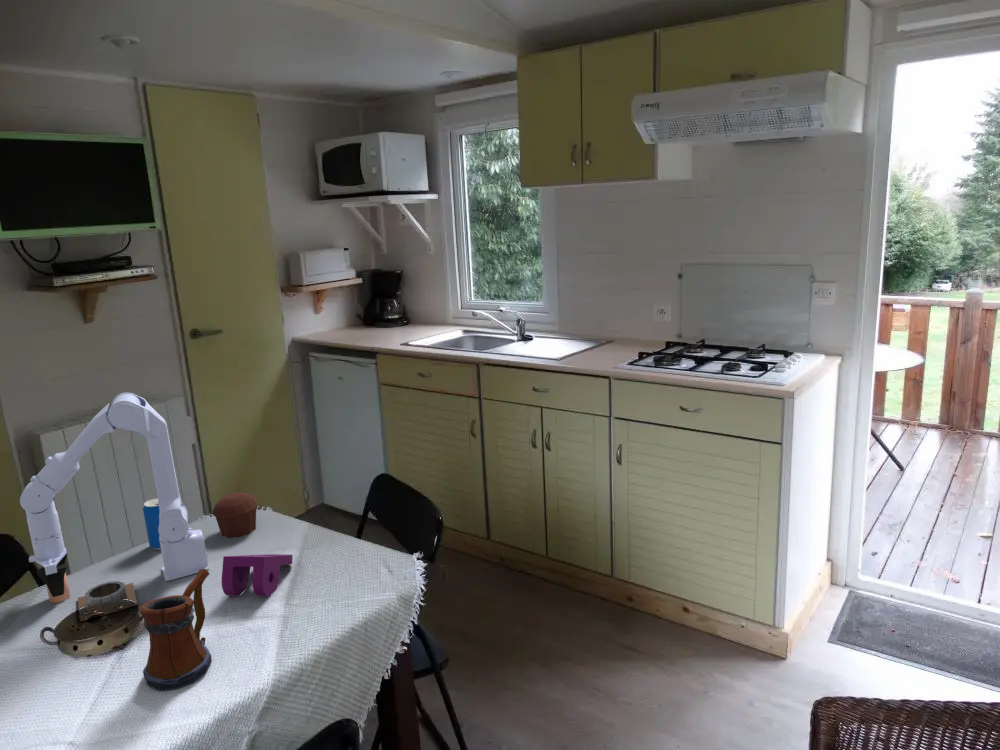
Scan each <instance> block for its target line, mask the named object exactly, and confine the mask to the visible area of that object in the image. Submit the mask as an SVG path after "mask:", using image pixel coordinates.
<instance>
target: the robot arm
mask: <svg viewBox="0 0 1000 750" xmlns="http://www.w3.org/2000/svg"><path fill="white" fill-rule="evenodd" d="M117 428H118V429H119V430H120V429H121V430H125V431H133V432H136V433H138V434H140V435H142V436H144V437H145V438H146V442H147V447H148V453H149V458H150V463H151V464H150V465H151V470H152V473H153V481H154V486H155V491H156V496H157V498H158V502H159V510H160V513H159V520H160V521H159V527H158V532H159V535H160V536H159V541H160V546H161V550H160V553H161V557H162V563H163V566H161V571H162V574H163V577H164V580H165V582H170V581H174V580H177V579H181V578H184V577H188V576H190V575H194V574H197V573H198V571H199V570H201V569H206V570H207V571H209V569H210V567H209V562H208V553H207V550H206V545H205V539H204V535H203V532H202V529H194V530H193V528H192V527H190V525H189V521H188V518H189V517H188V516H189V512H188V509H187V508H186V506H185V505H184V504H183V502H182V498H181V494H180V490H179V485H178V480H177V474H176V469H175V464H174V457H173V452H172V447H171V442H170V435H169V430H168V425H167V422H166V420H165V418H164V417H163V416H161V415H160V413H158V412H157V410H155V409H154V408H153V407H152V406H151V405H150V404H149V403H148V402H147V400H146V399H145V398H144V397H141V396H140V395H137V394H136V393H132V392H122V393H121V392H120V393H119V394H117V395H116V396H114V397H113V399H112V400H111V404H110V403H107V404H106V405H105V406H104V407H103V408H101V410H99V412H98V413H96V415H94V417H93V418H92V419H91V420H90V422H89V423H87V425H86V426H85V428H84V429H83V430H82V431H81V433H80V434H79V435H78V436H77V437H76V439H74V441H73V442H72V444H71V445H70V446H69V447H68V449H66V451H63V452H57V453H54V455H53V456H47V458H46V460H45V462H44V463H45V465H44V467H42V468H41V470H40V471H39V472H38V473H37V474H36V475H33V476H32V477H31V478H30V479H29V481H30V482H29V483H28V484H27V485H26V486H25V487H24V490H23V491H22V493H21V495H20V497H19V498H20V499H19V505H20V506H21V508H22V509H23V510H24V511H25V515H26V523H27V526H28V531H29V536H30V540H31V545H32V550H33V553H34V555H30V556H29V557H28V562H29V563H34V562H36V563H37V564H38V565H39V566H40V567H41V568H37V569H36V574H37V576H38V577H39V578H40V579H41V580H43V582H44V583H45V586H46V585H47V587H48V589H49V591H50V593H51V595H52V596H53V597H56V596H60V595H63V594H64V576H65V572H66V571H67V570H68V568H67V567H68V563H66V560H67V557H68V551H67V548H66V546H65V543H64V542H65V541H64V537H63V534H62V533H63V532H62V528H61V527H62V526H61V523H60V518H59V513H58V511H57V508H56V504H55V500H54V498H55V496H56V494H58V493H60V492H61V491H62V490H63V488H65V486H67V484H68V483H69V482H70V481H71V479H73V477H74V476H75V475H76V473H78V472H79V470H80V460H81V459H82V457H83V456H84V455H85V454H86V453H87V452H88V451H89V450H90V449H91V448H92V447H93V445H94V444H95V443H96V442H97V441H98V440H99V439H100V437H102V436H103V435H104V434H109V433H115V432H116V429H117ZM47 587H46V588H47Z"/></svg>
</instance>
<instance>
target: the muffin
mask: <svg viewBox="0 0 1000 750" xmlns="http://www.w3.org/2000/svg"><path fill="white" fill-rule="evenodd" d="M258 506H259V502H258V500H257V499H256V498H255V496H252V495H251V494H249V493H246V492H241V491H237V492H231V493H228V494H226V495H224V496H223V497H221V498H220V499H219V500H218V501H217V502H216V503H215V505H214V507H213V508H212V509H211V510H212V511H211V515H213V516H214V518H215V520H216V523H217V526H218V530H219V531H220V535H221V537H225V538H227V539H232V538H242V537H244V536H246V535H250V534H251V533H252V532H254V531H255V530H256V529H257V527H256V526H257V508H258Z"/></svg>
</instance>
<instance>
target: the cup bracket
mask: <svg viewBox="0 0 1000 750" xmlns="http://www.w3.org/2000/svg"><path fill="white" fill-rule="evenodd" d="M123 599H128V600H132V601H134V602H136V603H137V604H138V601H137V596H136V591H135V587H134V582H131V583H128V584H127V583H126V584H125V582H122V581H118V580H116V581H114V580H113V581H107V582H104V583H99V584H97V585H95V586H93V587H91V588H89V590H87V591H86V592H85V594H84V595H83V596H80V597H77V605H78V607H77V608H78V609H80V608H82V607H86V606H90V605H94V604H97V603H103V602H107V601H114V600H123Z"/></svg>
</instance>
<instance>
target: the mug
mask: <svg viewBox="0 0 1000 750" xmlns="http://www.w3.org/2000/svg"><path fill="white" fill-rule="evenodd" d="M209 575H210V572H209V570H206V569H201V570H199V571H198V573H196V576H195V577H194V578H193V579H192V581H191V582H189V584H188V585H187V586H186V588H185V590H184V591H183V594H181V595H180V594H177V595H169V596H164V597H159V598H156V599H152V600H149V601H147V602H145V603H144V604H141V606H140V607H138V610H139V614H140V615H141V616H142V618H143V619H144V623H143V626H144V628H145V629H146V630H147V632H148V633H149V635H148V636H149V652H148V658H147V661H146V665H145V667H144V668H143V670H142V674H143V675H142V676H143V677H144V680H145V682H146V684H147V686H149V688H152V689H154V690H157V691H160V692H163V691H171V690H177V689H180V688H183V687H185V686H188V685H191V684H193V683H195V682H196V681H198V679H200V678H201V677H202V676H204V675H205V674H206V673H207V671H208V669H210V668H209V667H210V666H211V663H212V660H213V659H212V654H211V653H210V651H209V649H208V647H207V646H205V645H206V637H201V636H200V635H201V631H202V628H203V626H204V622H205V619H206V607H205V604H204V600H203V584H204V582H205V581H206V579H207V577H209ZM192 594H193V599H192V598H191V596H192ZM194 613H195V616H194ZM195 617H196V618H195ZM194 619H195V625H194V624H193V622H194ZM200 637H201V638H200Z"/></svg>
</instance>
